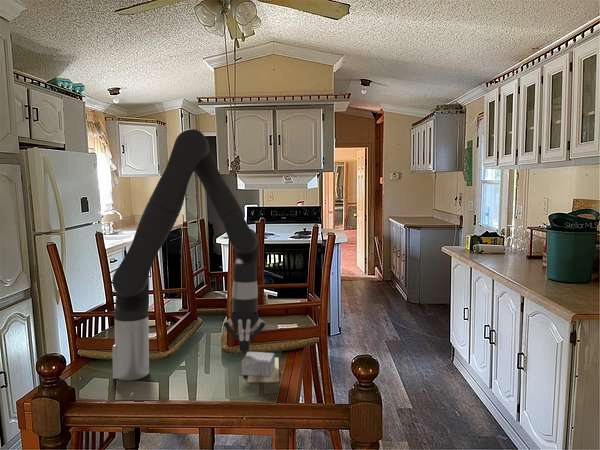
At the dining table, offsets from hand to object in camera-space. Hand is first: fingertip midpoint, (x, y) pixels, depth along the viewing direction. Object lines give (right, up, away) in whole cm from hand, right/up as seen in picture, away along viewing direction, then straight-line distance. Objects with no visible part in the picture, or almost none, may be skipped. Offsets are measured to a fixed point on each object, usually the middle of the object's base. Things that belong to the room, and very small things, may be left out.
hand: (244, 351), depth 133 cm
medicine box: (0, -3, 0) cm, 3 cm away
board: (+6, -6, +1) cm, 8 cm away
